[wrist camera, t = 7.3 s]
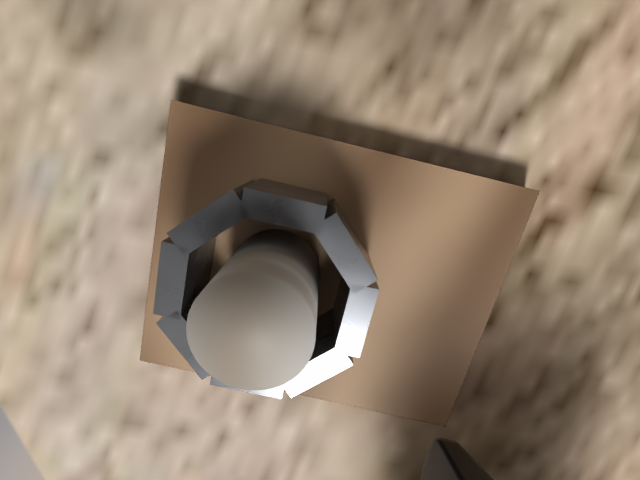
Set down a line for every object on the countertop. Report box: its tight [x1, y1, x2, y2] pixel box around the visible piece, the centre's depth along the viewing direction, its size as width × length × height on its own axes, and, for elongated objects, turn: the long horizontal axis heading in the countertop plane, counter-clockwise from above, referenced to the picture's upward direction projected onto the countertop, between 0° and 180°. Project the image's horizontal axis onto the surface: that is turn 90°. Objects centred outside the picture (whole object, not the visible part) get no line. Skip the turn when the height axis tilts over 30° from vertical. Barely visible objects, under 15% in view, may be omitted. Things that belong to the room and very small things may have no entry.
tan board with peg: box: [140, 100, 540, 426], centre depth 13 cm, size 14×11×6 cm
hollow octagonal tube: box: [153, 178, 379, 399], centre depth 13 cm, size 7×7×3 cm
